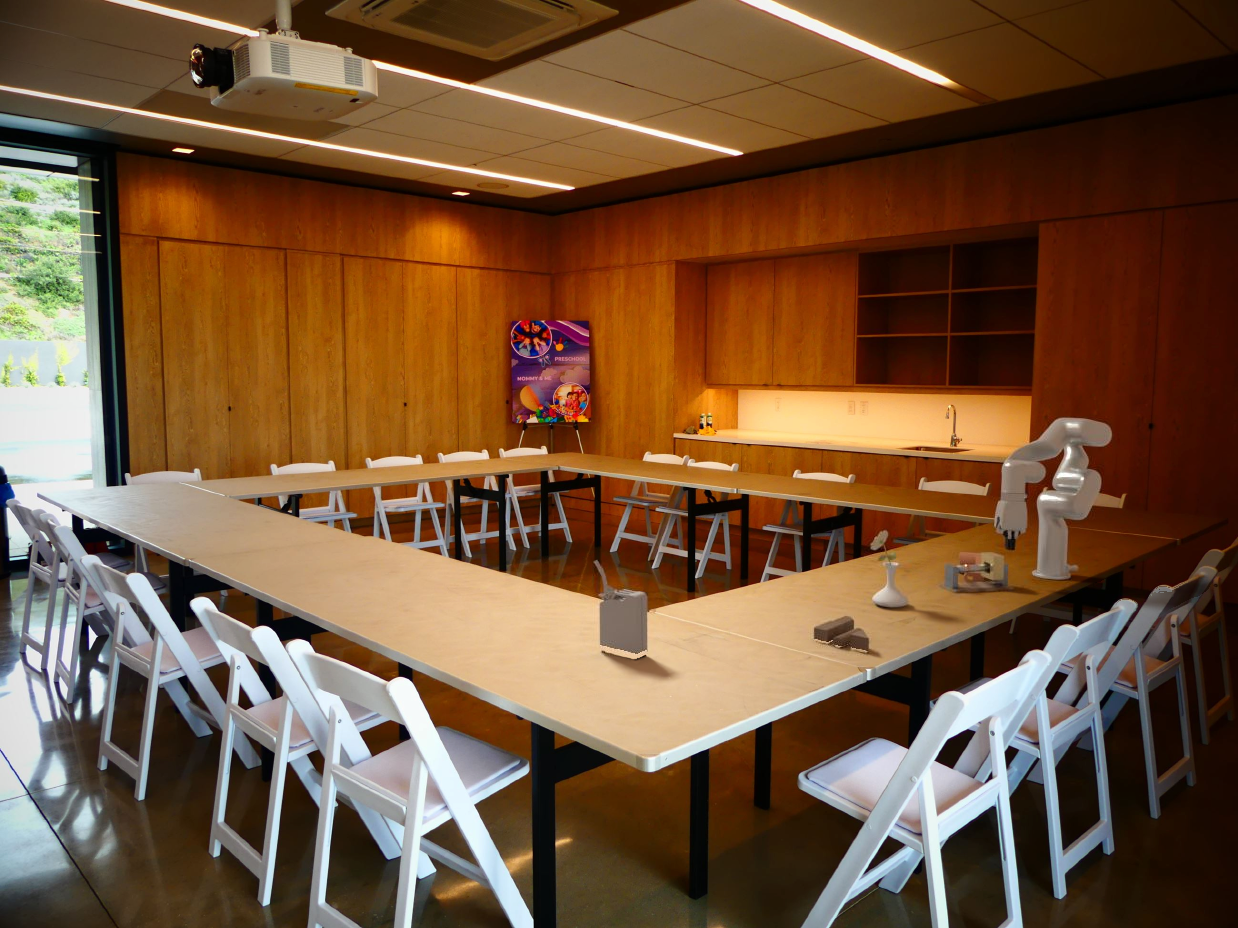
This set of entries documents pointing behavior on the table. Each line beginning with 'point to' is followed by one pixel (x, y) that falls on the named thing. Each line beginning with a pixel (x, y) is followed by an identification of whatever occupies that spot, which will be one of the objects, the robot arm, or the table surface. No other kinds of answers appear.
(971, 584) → the base board
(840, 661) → the table surface
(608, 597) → the jerry can
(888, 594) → the flower in vase
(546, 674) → the table surface
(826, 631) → the wooden block set
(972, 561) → the crank
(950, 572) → the pipe rail
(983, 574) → the collar
